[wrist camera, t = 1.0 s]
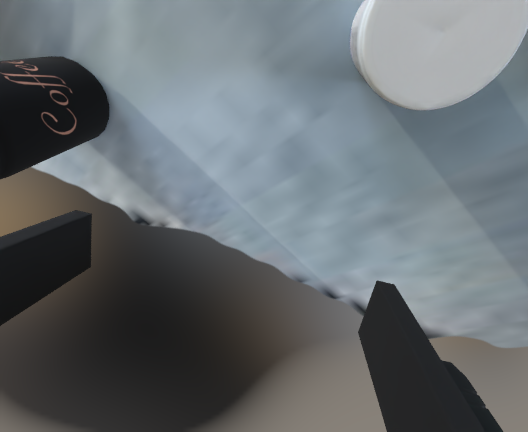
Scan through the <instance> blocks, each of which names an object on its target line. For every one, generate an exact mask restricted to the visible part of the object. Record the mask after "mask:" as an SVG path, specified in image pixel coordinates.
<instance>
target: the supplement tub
mask: <svg viewBox="0 0 528 432" xmlns="http://www.w3.org/2000/svg"><path fill="white" fill-rule="evenodd" d="M527 28H528V0H364V1H363V3H362V4H361V6H360V8H359V9H358V11H357V13H356V15H355V18H354V21H353V24H352V28H351V32H350V53H351V57H352V60H353V63H354V65H355V67H356V69H357V70H358V72H359V73H360V74H361V75H362V77H363V78H364V79H365V81H366V82H367V83H368V85H369V86H370V87H371V88H372V89H373V90H374V91H375V92H376V93H377V94H378V95H379V96H380V97H382V98H383V99H385V100H387V101H388V102H390V103H392V104H395V105H397V106H400V107H403V108H407V109H413V110H433V109H439V108H444V107H447V106H451V105H453V104H456V103H458V102H460V101H463V100H465V99H467V98H469V97H470V96H472V95H473V94H475V93H477V92H478V91H480V90H481V89H482V88H484V87H485V86H486V85H487V84H489V83H490V82H491V81H492V80H493V79H494V78H495V77H496V76H497V75H498V74H499V73H500V72H501V71H502V70H503V69H504V68H505V66H506V65H507V64H508V63H509V61H510V60H511V59H512V57H513V56H514V54H515V53H516V51H517V50H518V48H519V46H520V44H521V42H522V40H523V38H524V36H525V34H526V31H527Z"/></svg>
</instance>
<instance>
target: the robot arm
mask: <svg viewBox="0 0 528 432" xmlns="http://www.w3.org/2000/svg"><path fill="white" fill-rule="evenodd" d="M91 220H92V214H90V213H86V212H81V211H77V210H75V211H72V212H69V213H67V214H64V215H61V216H58V217H55V218H52V219H50V220H47V221H44V222H41V223H38V224H36V225H33V226H30V227H27V228H24V229H22V230H19V231H16V232H13V233H11V234H7V235H5V236H2V237H0V326H1V325H2V324H4V323H5V322H7V321H8V320H10V319H11V318H13V317H14V316H16V315H17V314H19V313H21V312H22V311H24V310H25V309H27V308H28V307H30V306H31V305H33V304H34V303H36V302H38V301H39V300H41V299H42V298H44V297H45V296H47V295H48V294H50V293H51V292H53V291H54V290H56V289H57V288H59V287H61V286H62V285H63V284H65V283H67V282H68V281H70V280H71V279H73V278H74V277H76V276H77V275H79V274H81V273H82V272H84V271H85V270H86V269H88V268H90V267H91ZM358 333H359V337H360V340H361V344H362V347H363V351H364V354H365V357H366V361H367V364H368V368H369V371H370V375H371V378H372V381H373V385H374V388H375V392H376V395H377V398H378V402H379V406H380V409H381V412H382V416H383V419H384V423H385V426H386V430H387V432H503V431H502V429H501V428H500V426H499V425H498V423H497V422H496V420H495V419H494V417H493V416H492V414H491V413H490V411H489V410H488V409H486V408H485V404H484V402H483V401H482V399H481V398H480V396H478V395H477V392H476V391H475V389H474V388H473V386H472V385H471V383H470V382H469V380H468V379H467V378H466V376H465V375H464V374H463V373H462V372H460V371H459V370H458V369H457V368H456V367H455V366H454V365H453V364H452V363H450V362H446V361H442V360H440V358H439V356H438V355H437V353H436V351H435V350H434V348H433V346H432V345H431V343H430V342H429V340H428V338H427V337H426V335H425V333H424V332H423V330H422V329H421V327H420V325H419V324H418V322H417V320H416V319H415V317H414V316H413V314H412V312H411V311H410V309H409V307H408V306H407V304H406V303H405V301H404V299H403V298H402V296H401V294H400V293H399V291H398V290H397V288H396V286H395V285H394V284H390V283H386V282H381V281H376V284H375V287H374V289H373V292H372V295H371V298H370V301H369V303H368V306H367V309H366V312H365V315H364V317H363V320H362V323H361V326H360V329H359V331H358Z"/></svg>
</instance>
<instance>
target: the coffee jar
mask: <svg viewBox="0 0 528 432" xmlns="http://www.w3.org/2000/svg"><path fill="white" fill-rule="evenodd" d="M108 120H109V103H108V100H107V96H106V93H105V92H104V90H103V88H102V86H101V84H100V83H99V81H98V80H97V79H96V78H95V77H94V76H93V74H92V73H90V72H89V71H88V70H87V69H85V68H84V67H83V66H81V65H80V64H79V63H77V62H75V61H72V60H70V59H67V58H64V57H52V56H51V57H40V58H29V59H19V60H8V61H0V179H3V178H6V177H9V176H11V175H13V174H15V173H18V172H20V171H22V170H25V169H27V168H29V167H31V166H33V165H36V164H38V163H40V162H42V161H44V160H47V159H49V158H51V157H53V156H56V155H58V154H60V153H62V152H64V151H67V150H69V149H71V148H73V147H75V146H78V145H80V144H82V143H84V142H86V141H89V140H91V139H93V138H95V137H98V136H99V135H100V134H101V133H102V132H103V131H104V130H105V128H106V125H107V123H108Z"/></svg>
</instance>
